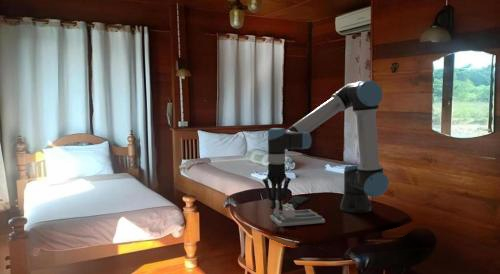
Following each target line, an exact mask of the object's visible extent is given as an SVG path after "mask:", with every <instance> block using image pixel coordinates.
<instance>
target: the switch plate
mask: <svg viewBox="0 0 500 274" xmlns="http://www.w3.org/2000/svg"><path fill="white" fill-rule="evenodd" d="M269 219H270V220H271V221H272V222H273V223H274V222H275V225H276V226H277V227H286V226H287V227H289V226H301V225H313V224H314V225H315V224H325V223H326V219H325V218H323V216H322V215H319V214H318V213H317V212H316V211H313V210H312V209H300V210H299V209H298V210H296V209H295V218H288V219H285V218H284V214H283V210H282V211H279V216H275V215H274V211H273V212H272V214H271V215H269Z"/></svg>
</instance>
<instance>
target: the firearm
mask: <svg viewBox="0 0 500 274" xmlns="http://www.w3.org/2000/svg"><path fill="white" fill-rule="evenodd" d="M306 201H307V202H308V201H310V197H306V196H296V195H295V196H292V198H291V199H290V200H287V201H285V203H284V204H281V208H280V209H279V210H283V205H286V203H288V204H291V205H293V209H295V210H296V208H298V207H301V206H302V205H304V204H305V203H307V202H306ZM303 203H304V204H303ZM301 204H302V205H301ZM298 205H299V206H298ZM270 207H271V209H273V208H272V205H271V206H270Z"/></svg>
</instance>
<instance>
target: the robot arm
mask: <svg viewBox="0 0 500 274" xmlns="http://www.w3.org/2000/svg"><path fill="white" fill-rule="evenodd" d="M383 94H384V93H383V90H382V87H381V86H380V85H379V84H378V83H377V82H376V81H374V80H368V79H367V80H360V81H352V82H349V83H347V84H345V85H344V86H343V87H341V88H339V89H338V90H337V91H336V92H335V93H333V94H331V97H330V99H328V100H327V101H325V102H323V103H322V104H320V106H319V105H318V107H316V108H315V109H314V110H313V111H311V112H310V113H308V114H307V115H305V116H304V117H303V118H301V119H299V120H298V121H297V122H295V123H294V124H292V125H291V126H290V127H288V128H287V129H285V128H284V127H283V128H281V127H273V128H269V129H268V133H267V147H268V148H267V149H268V151H267V157H268V158H267V159H268V165H267V170H268V171H267V175H266V177H265V178H262V182H263V184H264V187H265V192H266V196H267V199H268V200H269V201H270V202H271V206H272V208H271V209H273V212H274V215H275V216H279V212H280V209H279V208H281V205H282V202H283V201H284V200H286V197H287V193H288V188H289V184H290V182H291V181H292V179H291V177H288V176H287V174H286V164H285V163H286V150H304V149H310V148H311V145H312V136H311V134H310V133H311V132H313V131H314V130H315V129H316V128H318V127H319V126H320V125H322V124H324V122H326V121H328V120H329V119H330V118H332V117H333V116H335V115H337V113H339V112H344V111H346V110H347V109H348V108H351V107H352V112H353V113H355V115H356V125H357V136H358V138H357V139H358V149H359V153H358V154H359V162H360V163H359V164H350V165H345V166H344V170H343V176H344V177H343V178H344V179H343V197H342V199H341V201H340V205H339V206H340V209H339V210H341V211H343V212H346V213H352V214H367V213H370V212H372V205H371V202H370V199H369V196H370V197H375V198H376V197H380V196H383V194H385V192H386V191H387V190H388V188H389V184H390V183H389V181H390V180H389V178H388V176H387V175H386V174H385V173H384V167H383V165H382V164H381V163H380V158H379V144H378V143H379V142H378V130H377V129H378V128H377V116H376V113H377V112H378V110H379V109H380V108H379V107H380V106H379V104H380V103H381V101H382V99H383V96H384V95H383ZM269 182H270V184H271V189H270V184H269ZM283 182H284V183H283ZM282 186H283V187H282Z"/></svg>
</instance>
